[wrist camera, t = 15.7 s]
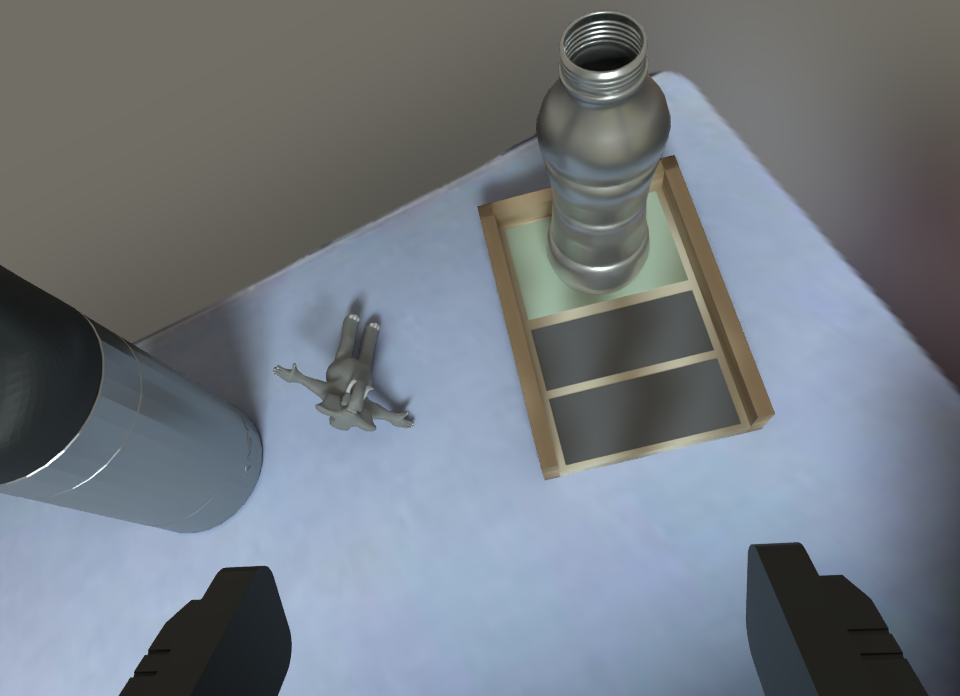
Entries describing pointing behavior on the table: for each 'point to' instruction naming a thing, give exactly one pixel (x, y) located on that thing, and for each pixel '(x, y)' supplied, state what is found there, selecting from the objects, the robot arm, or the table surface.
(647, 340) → the box
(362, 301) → the table surface
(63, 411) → the robot arm
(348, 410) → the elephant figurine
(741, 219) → the table surface
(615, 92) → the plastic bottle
